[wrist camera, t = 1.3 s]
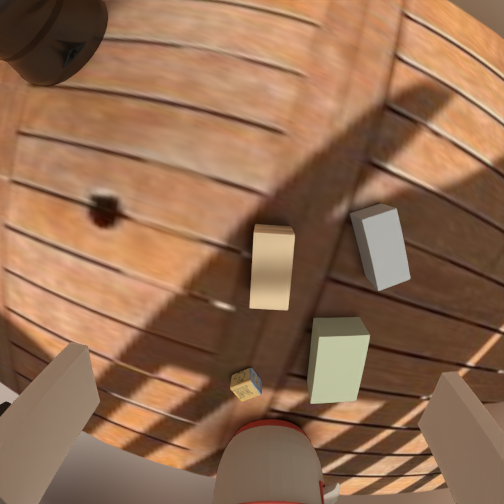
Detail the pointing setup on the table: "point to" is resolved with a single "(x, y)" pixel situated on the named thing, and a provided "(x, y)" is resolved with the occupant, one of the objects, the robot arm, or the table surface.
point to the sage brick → (336, 359)
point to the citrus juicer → (271, 467)
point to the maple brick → (271, 267)
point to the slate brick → (381, 245)
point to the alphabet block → (246, 384)
